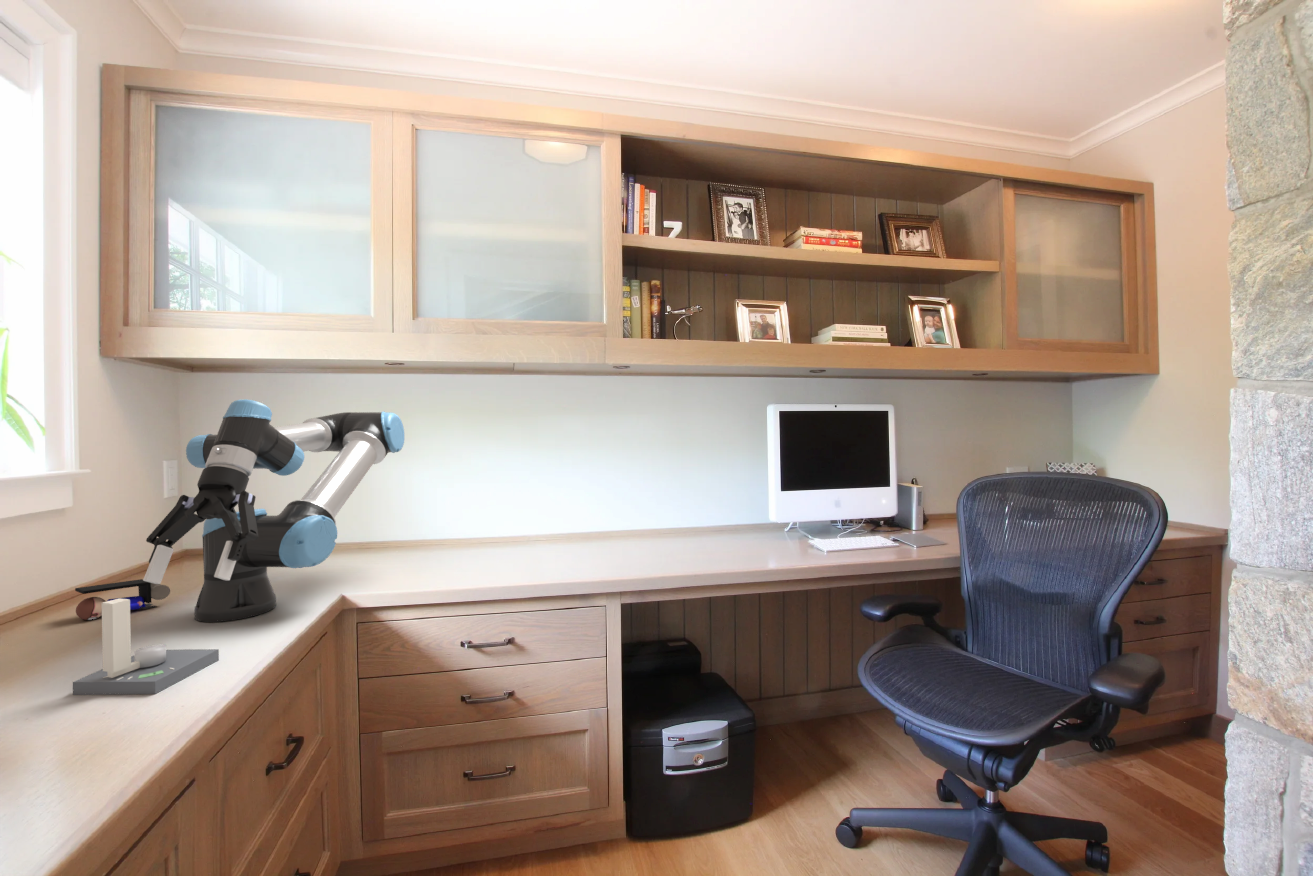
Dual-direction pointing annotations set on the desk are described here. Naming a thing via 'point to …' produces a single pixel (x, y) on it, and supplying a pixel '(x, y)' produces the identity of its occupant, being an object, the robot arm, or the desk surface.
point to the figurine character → (147, 590)
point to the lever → (124, 641)
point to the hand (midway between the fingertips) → (186, 580)
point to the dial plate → (148, 674)
